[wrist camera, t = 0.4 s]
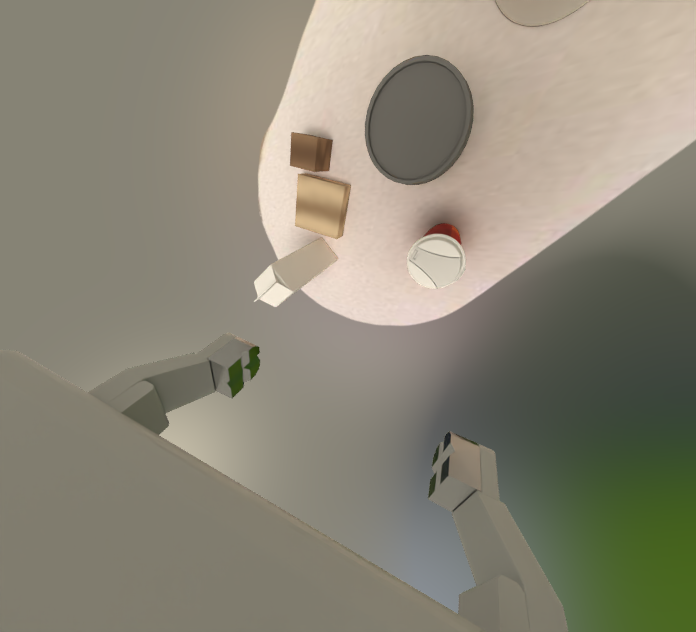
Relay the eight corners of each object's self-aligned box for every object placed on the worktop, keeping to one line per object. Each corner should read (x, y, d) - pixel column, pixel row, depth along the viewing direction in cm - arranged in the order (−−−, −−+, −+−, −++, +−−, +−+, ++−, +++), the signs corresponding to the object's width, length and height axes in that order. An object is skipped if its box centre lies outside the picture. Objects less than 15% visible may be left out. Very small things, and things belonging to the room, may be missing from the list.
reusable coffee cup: (378, 155, 46) (346, 154, 34) (420, 66, 38) (398, 25, 26) (437, 193, 45) (425, 206, 33) (492, 111, 38) (502, 89, 26)
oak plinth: (305, 173, 52) (298, 174, 50) (350, 185, 50) (344, 186, 48) (302, 223, 58) (295, 225, 56) (342, 235, 56) (336, 239, 53)
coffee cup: (412, 247, 51) (395, 274, 40) (435, 208, 46) (424, 225, 35) (449, 268, 51) (443, 302, 39) (477, 230, 46) (480, 255, 34)
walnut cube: (308, 134, 49) (291, 132, 44) (332, 140, 48) (317, 138, 43) (306, 165, 51) (290, 165, 47) (329, 170, 50) (314, 171, 46)
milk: (338, 258, 59) (284, 300, 41) (321, 272, 62) (265, 316, 45) (321, 236, 58) (258, 270, 40) (305, 252, 61) (240, 289, 44)
